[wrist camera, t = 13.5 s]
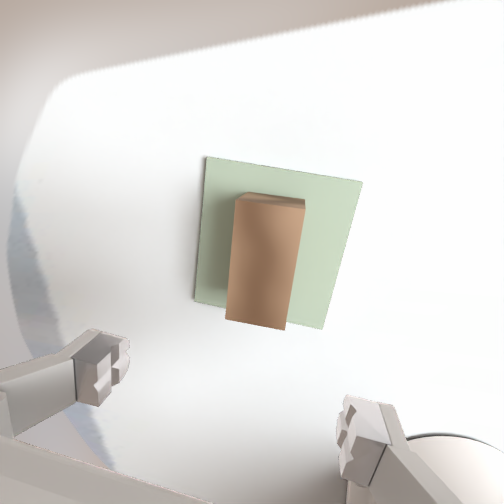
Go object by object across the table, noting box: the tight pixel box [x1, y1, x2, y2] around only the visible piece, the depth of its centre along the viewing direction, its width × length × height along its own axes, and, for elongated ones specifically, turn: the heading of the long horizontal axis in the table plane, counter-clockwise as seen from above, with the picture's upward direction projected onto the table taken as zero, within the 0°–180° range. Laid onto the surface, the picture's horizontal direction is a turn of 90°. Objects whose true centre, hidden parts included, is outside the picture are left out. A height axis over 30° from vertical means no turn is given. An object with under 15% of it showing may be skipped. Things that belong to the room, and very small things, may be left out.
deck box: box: [225, 192, 306, 331], centre depth 22 cm, size 4×9×4 cm, turn 174°
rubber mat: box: [194, 157, 363, 330], centre depth 24 cm, size 13×12×1 cm
